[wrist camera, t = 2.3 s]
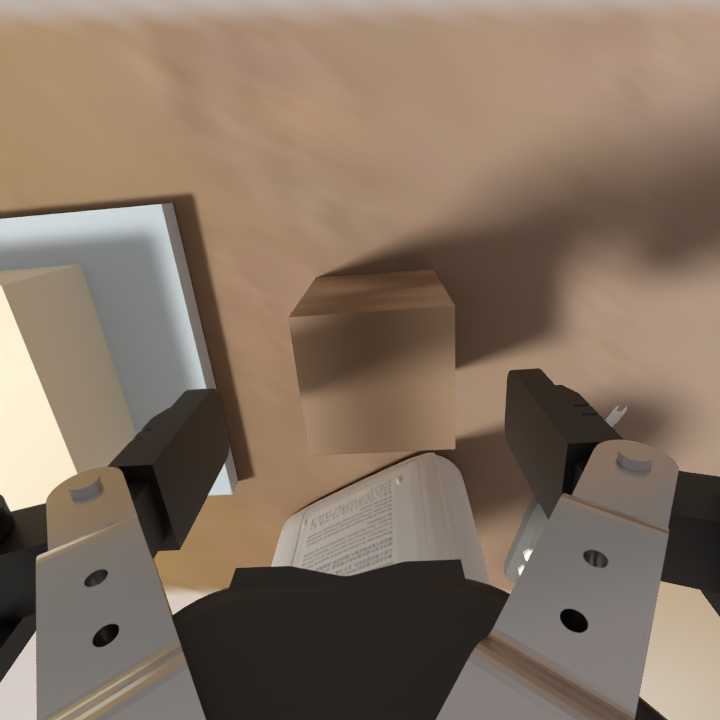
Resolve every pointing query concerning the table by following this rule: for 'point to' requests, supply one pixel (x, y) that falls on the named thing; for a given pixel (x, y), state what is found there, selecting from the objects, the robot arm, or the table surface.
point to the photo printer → (387, 523)
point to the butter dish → (92, 342)
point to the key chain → (536, 525)
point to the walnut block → (376, 363)
